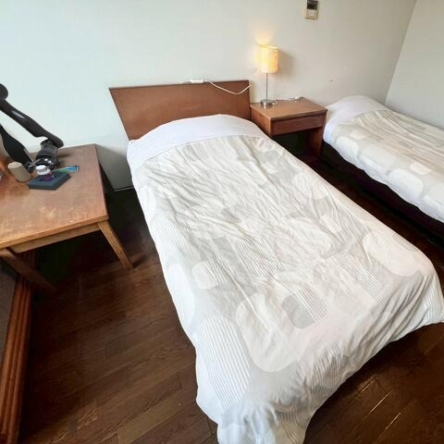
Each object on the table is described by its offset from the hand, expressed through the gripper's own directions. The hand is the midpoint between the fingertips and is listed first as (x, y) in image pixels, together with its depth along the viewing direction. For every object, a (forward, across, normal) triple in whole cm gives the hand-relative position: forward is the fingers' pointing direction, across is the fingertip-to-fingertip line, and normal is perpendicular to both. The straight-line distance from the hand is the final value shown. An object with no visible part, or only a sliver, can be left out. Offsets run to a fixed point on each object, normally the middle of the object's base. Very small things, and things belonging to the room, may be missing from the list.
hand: (40, 170), depth 129 cm
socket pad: (-2, 0, +9) cm, 9 cm away
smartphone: (-14, +4, +9) cm, 17 cm away
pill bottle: (-2, 0, +9) cm, 9 cm away
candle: (-10, -12, +9) cm, 18 cm away
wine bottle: (-24, -14, +9) cm, 29 cm away
